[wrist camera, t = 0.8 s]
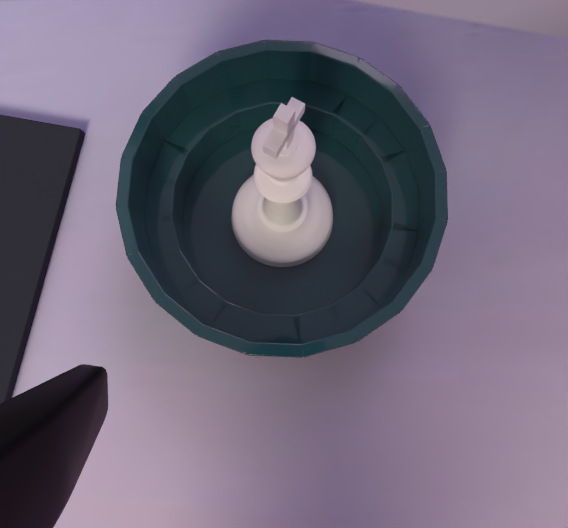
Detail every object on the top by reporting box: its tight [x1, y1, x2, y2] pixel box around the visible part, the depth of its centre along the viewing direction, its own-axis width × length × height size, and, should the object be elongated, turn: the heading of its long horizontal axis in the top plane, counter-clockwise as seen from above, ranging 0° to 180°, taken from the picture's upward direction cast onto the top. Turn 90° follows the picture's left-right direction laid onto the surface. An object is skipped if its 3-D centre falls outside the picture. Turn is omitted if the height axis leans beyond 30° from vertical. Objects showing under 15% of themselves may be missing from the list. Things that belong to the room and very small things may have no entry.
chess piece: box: [231, 97, 333, 267], centre depth 17 cm, size 5×5×10 cm
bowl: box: [116, 40, 448, 358], centre depth 20 cm, size 13×13×4 cm
